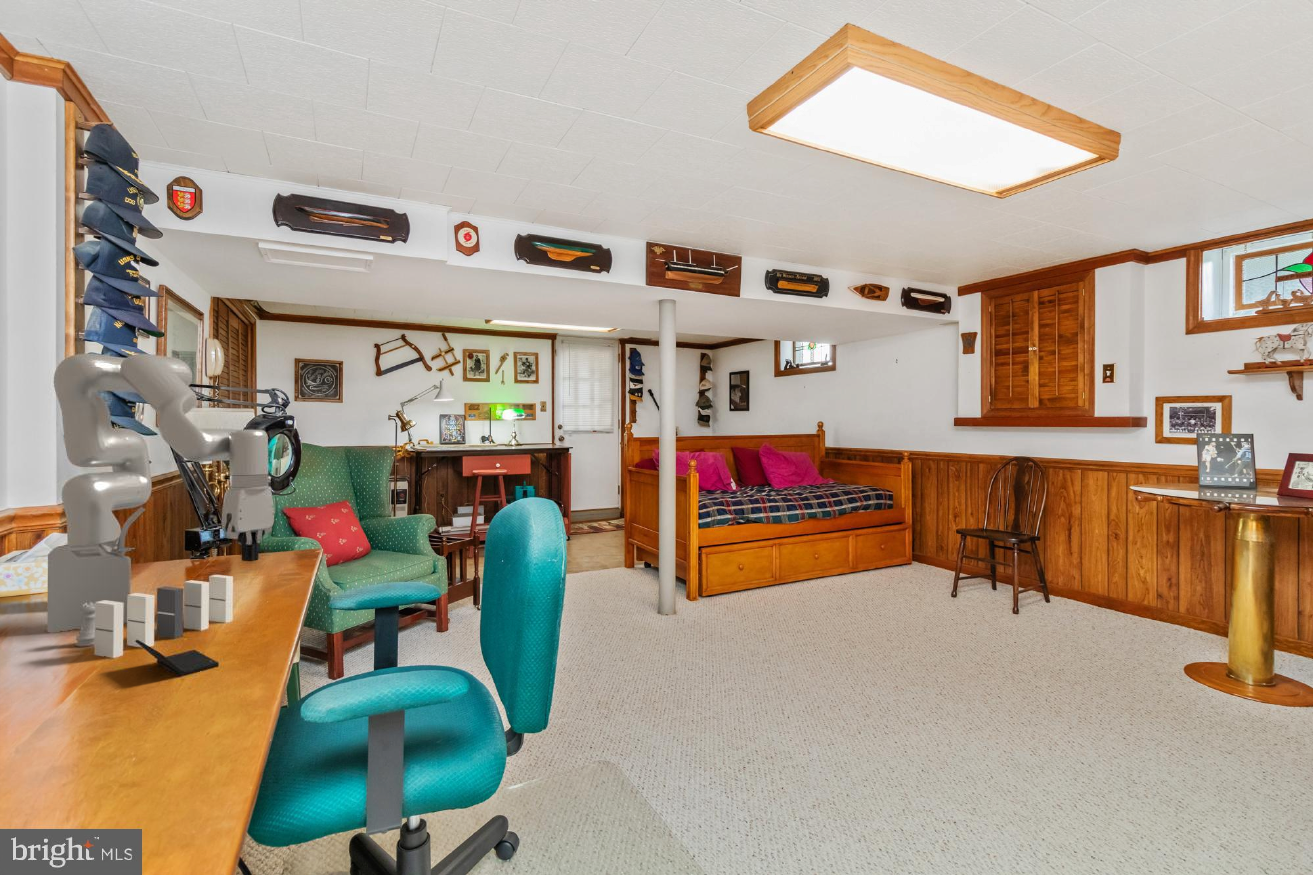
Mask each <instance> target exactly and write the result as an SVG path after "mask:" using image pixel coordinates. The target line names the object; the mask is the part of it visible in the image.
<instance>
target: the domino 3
mask: <svg viewBox="0 0 1313 875" xmlns="http://www.w3.org/2000/svg"><path fill="white" fill-rule="evenodd" d="M183 629H184V587H183V588H182V587H175V586H167V585H166V586H161V587H157V588H156V637H160V638H165V639H166V638H167V639H172V640H173V639H174V640H175V639H176V640H177V639H179V638H182V637H184V636H183V634H184V633H183V632H184V630H183Z"/></svg>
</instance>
